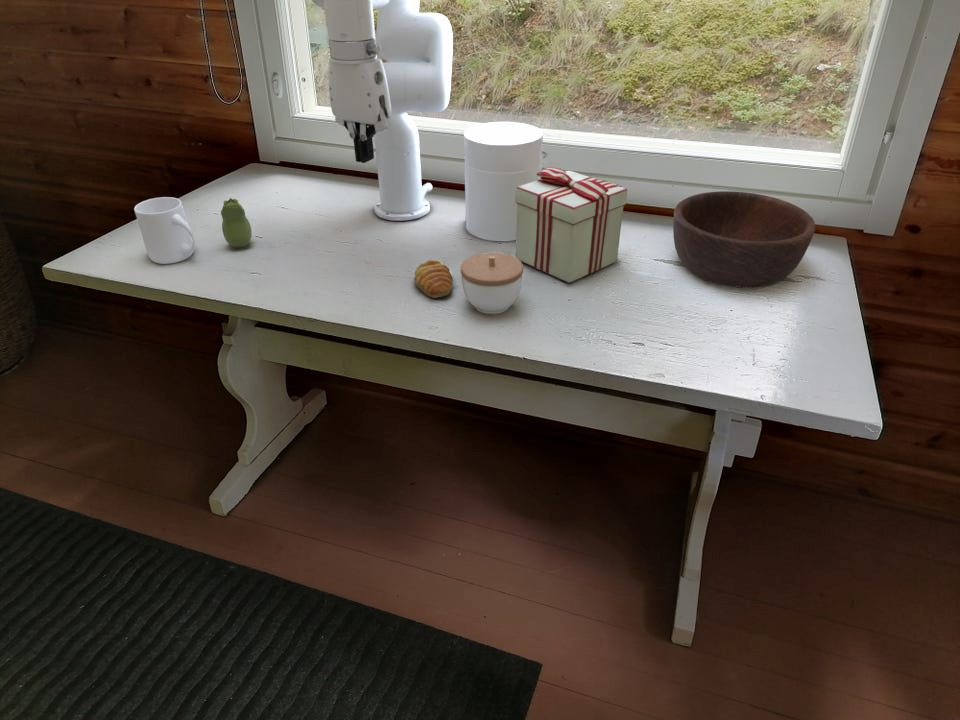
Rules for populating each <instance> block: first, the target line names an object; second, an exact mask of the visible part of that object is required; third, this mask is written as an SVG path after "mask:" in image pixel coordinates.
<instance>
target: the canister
mask: <svg viewBox="0 0 960 720" xmlns="http://www.w3.org/2000/svg"><path fill="white" fill-rule="evenodd" d="M543 141H544V133H543V130H542V129H540V128H539V127H537V126H536V125H535V126H534V125H532V124H528V123H524V122H514V121H491V122H484V123H478V124H475V125H472V126H470V127H468V128H467V129H465V130H464V131H463V153H464V154H463V155H464V199H465V201H464V204H465V206H464V207H465V229H466V230H467V231H468V233H469V234H470V235H472V236H474V237H475V238H479V239H482V240H486V241H492V242H493V241H494V242H513V241H516V234H517V203H516V202H515V199H516V187H518V186H522V185H525V184H528V183H531V182H534V181H537V180H540V178H539V177H540V176H537V173H538V172H541V171H543V169H542V167H543V161H542V160H543V159H542V158H543V157H542V156H543V147H544V146H543V145H544V143H543Z"/></svg>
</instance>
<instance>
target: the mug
mask: <svg viewBox="0 0 960 720" xmlns="http://www.w3.org/2000/svg"><path fill="white" fill-rule="evenodd" d="M133 210H134V215H135V218H136V220H137V223H138V227H139V230H140V233H141V236H142V238H143V243H144V247H145V250H146V252H147V255H148V257H149V259H150V260H151V261H152V262H153V263H156V264H158V265H159V264H161V265H170V264H175V263H180V262H183V261H185V260H187V259H189V258H190V257H191V256H192V255H193V253H194V251H195V249H196V240H195V236H194V232H193V231H192V228H191V227H190V225H189V223H188V222H187V217H186V214H185V210H184V207H183V202H182V201H181V200H180V199H179V198H177V197H171V196H162V197H154V198H149V199H146V200H143V201H141V202H139V203H137V204H135V206H134V208H133Z"/></svg>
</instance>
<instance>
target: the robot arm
mask: <svg viewBox="0 0 960 720" xmlns="http://www.w3.org/2000/svg"><path fill="white" fill-rule="evenodd" d="M420 1H421V0H311V2H312V3H314V5H316V6H317V7H319V8H321V9H324V13H325V21H326V29H327V36H328V37H327V38H328V45H329V53H330V54H329V55H330V58H328V94H329V103H330V104H329V105H330V108H331V113H332V115H333V116H334V118H335V119H334V120H335V122H336V123H337V124H338V125H340V126H343V127H344V128H345V129H346V130H347V132H348V135H349V137H350V139H351V140H353V147H354V156H355V162H357V163H361V164H366V163H368V162H369V161H372V160H374V158H375V157H376V169H377V179H378V189H379V199H380V200H379V201H378V202H377V203H375V205H374V214H375V215H376V216H377V217H379V218H381V219H383V220H387V221H394V222H395V221H396V222H397V221H398V222H404V221H412V220H416V219H419V218H422V217H424V216H426V215H427V214H428V213H429V212H430V210H431V205H430V202H429V201H428V200H426V199H425V196H426V195H427V193H430V192H431V191H433V185H432V183H431V182H426V183H424V184H423V183H422V181H423V180H422V166H421V152H420V151H421V148H420V135H419V129H418V127H417V125H416V124H415V122H414V120H413V119H412V118H411V117H410V116H409V114H408V113H425V114H427V113H428V114H429V113H441V112H443V111H445V109H447V107H448V105H449V104H450V98H451V89H452V87H451V85H452V67H453V47H454V37H453V29H452V25H451V22H450V19H448V17H446V16H445V15H444V14H442V13H439V12H420ZM374 10H377V18H376V30H375V18H374ZM378 56H379V57H378ZM382 60H384V61H386V62H383V61H382ZM373 139H374V140H373ZM374 147H375V148H374ZM374 149H375V153H374ZM422 184H423V185H422Z"/></svg>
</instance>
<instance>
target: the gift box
mask: <svg viewBox="0 0 960 720" xmlns="http://www.w3.org/2000/svg"><path fill="white" fill-rule="evenodd" d="M537 176H540V177H539V178H540V180H537V181H534V182H531V183H528V184H525V185H522V186H518V187H516V199H515V202H516V203H517V234H516V240H515V258H517V259H519V260H520V261H521V263H524V264H526V265H529V266H530V267H532V268H534V269H535V270H538V271H541V272H544V273H546V274H548V275H550V276H552V277H555V278H556V279H559V280H561V281H563V282H565V283H568V284H569V283H572V282H574V281H577V280H579V279H581V278H583V277H585V276H587V275H590V274H592V273H594V272H597V271H599V270H601V269H604V268H605V267H608V266H609V265H612V264H614V263H616V262H617V261H618V255H619V247H620V239H621V230H622V229H621V228H622V223H623V213H624V206H626V205H627V198H628V188H625V187H623V186H622V185H620V184H618V183H617V184H615V183H612V182H610V181H607V180H601V179H599V178H595V177H591V176H589V175H588V176H587V175H584V174H582V173H579V172H575V171H572V170H566V171H565V170H563V169H562V168H561V167H560V168H559V167H553V166H550V167H546V168H544V169H542V170H541V172H538V173H537Z"/></svg>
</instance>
